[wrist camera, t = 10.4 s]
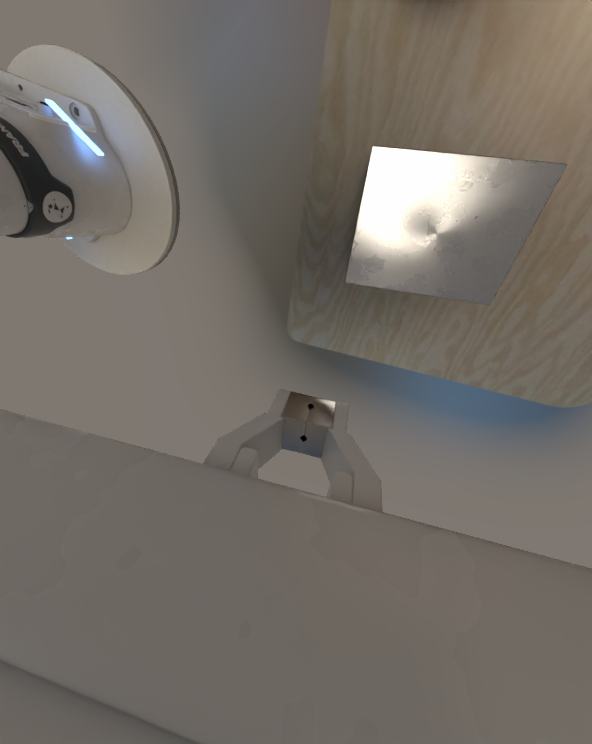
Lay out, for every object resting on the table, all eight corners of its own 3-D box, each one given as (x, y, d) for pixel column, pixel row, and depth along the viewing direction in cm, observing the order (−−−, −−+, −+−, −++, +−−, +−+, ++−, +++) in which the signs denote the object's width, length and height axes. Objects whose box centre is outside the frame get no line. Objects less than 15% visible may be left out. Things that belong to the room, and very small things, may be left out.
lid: (345, 280, 32) (344, 282, 31) (372, 146, 25) (372, 145, 24) (487, 303, 30) (490, 305, 30) (562, 164, 23) (568, 163, 22)
